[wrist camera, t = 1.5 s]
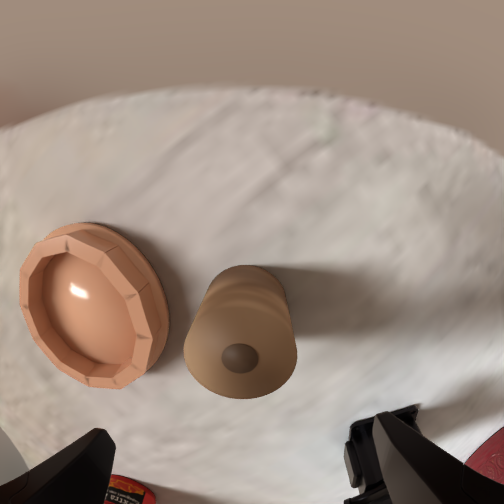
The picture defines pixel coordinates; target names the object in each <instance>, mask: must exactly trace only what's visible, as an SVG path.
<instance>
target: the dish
mask: <svg viewBox="0 0 504 504" xmlns="http://www.w3.org/2000/svg"><path fill="white" fill-rule="evenodd" d="M20 307H21V310H22V312H23V315H24V318H25V320H26V323H27V325H28V328H29V330H30V333H31V335H32V337H33V340H34V341H35V342H36V344H37V345H38V346H39V347H40V349H41V350H42V351H43V352H44V353H45V355H46V356H47V357H48V358H49V359H50V360H51V361H52V363H53V364H54V365H55V366H56V367H57V368H58V369H59V370H61V371H62V372H64V373H66V374H67V375H69V376H71V377H72V378H74V379H76V380H78V381H80V382H81V383H83V384H85V385H87V386H89V387H97V388H109V389H122V388H123V387H125V386H126V385H128V384H129V383H131V382H132V381H134V380H135V379H137V378H139V377H140V376H142V375H143V374H145V372H146V371H147V370H148V369H150V368H151V367H152V366H153V365H154V364H155V362H156V361H157V360H158V358H159V356H160V354H161V353H162V351H163V349H164V347H165V344H166V341H167V338H168V333H169V322H170V319H169V309H168V304H167V299H166V296H165V293H164V290H163V287H162V285H161V283H160V280H159V278H158V276H157V274H156V273H155V271H154V269H153V268H152V266H151V265H150V263H149V262H148V261H147V259H146V258H145V256H144V255H143V254H142V253H141V252H140V251H139V250H138V249H137V248H136V247H135V246H134V245H133V244H132V243H131V242H130V241H128V240H127V239H126V238H125V237H123V236H122V235H120V234H119V233H117V232H115V231H113V230H111V229H109V228H107V227H104V226H101V225H98V224H93V223H75V224H70V225H67V226H64V227H61V228H58V229H56V230H55V231H53V232H51V233H50V234H49V235H48V236H47V237H46V238H44V240H43V241H40V242H37V243H36V244H35V245H34V247H33V248H32V250H31V252H30V253H29V255H28V257H27V258H26V260H25V262H24V263H23V265H22V267H21V269H20Z"/></svg>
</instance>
